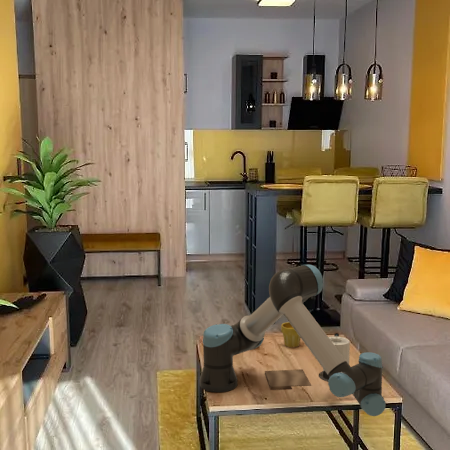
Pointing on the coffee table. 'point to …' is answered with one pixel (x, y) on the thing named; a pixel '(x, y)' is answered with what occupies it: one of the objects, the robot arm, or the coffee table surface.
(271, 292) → the robot arm
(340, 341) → the towel roll
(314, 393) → the coffee table surface
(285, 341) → the plant pot
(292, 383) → the cutting board
